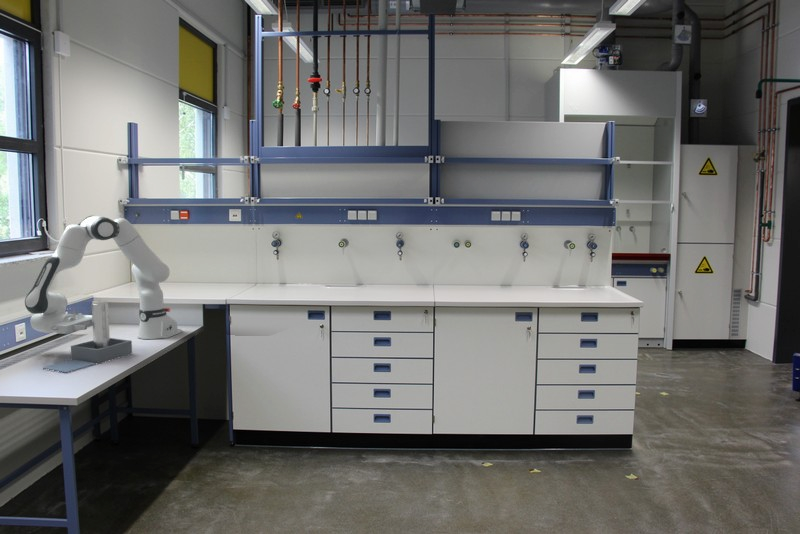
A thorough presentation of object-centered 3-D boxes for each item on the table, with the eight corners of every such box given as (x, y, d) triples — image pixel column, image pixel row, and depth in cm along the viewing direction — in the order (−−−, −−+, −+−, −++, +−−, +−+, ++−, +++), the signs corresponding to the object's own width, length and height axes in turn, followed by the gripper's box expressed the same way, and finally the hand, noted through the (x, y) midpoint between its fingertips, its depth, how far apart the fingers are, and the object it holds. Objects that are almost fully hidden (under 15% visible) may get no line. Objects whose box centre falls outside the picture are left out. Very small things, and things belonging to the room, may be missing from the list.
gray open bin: (106, 349, 275) (105, 337, 275) (132, 353, 269) (131, 340, 269) (71, 359, 259) (70, 346, 258) (98, 363, 253) (97, 350, 252)
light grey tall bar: (93, 359, 260) (90, 302, 257) (95, 355, 266) (92, 300, 263) (110, 357, 262) (107, 301, 259) (111, 354, 268) (108, 299, 265)
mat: (72, 360, 257) (72, 359, 257) (96, 364, 252) (96, 363, 252) (42, 369, 245) (42, 367, 244) (66, 373, 239) (66, 371, 239)
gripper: (47, 321, 255) (75, 323, 253) (81, 312, 275) (108, 313, 273) (48, 336, 256) (76, 337, 254) (82, 325, 276) (108, 327, 274)
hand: (93, 325), depth 263 cm, fingers open, 8 cm apart
